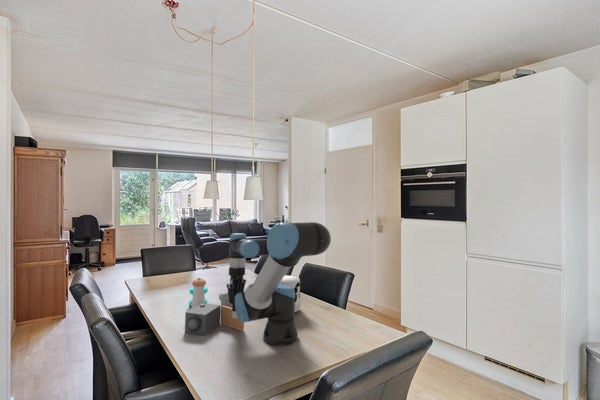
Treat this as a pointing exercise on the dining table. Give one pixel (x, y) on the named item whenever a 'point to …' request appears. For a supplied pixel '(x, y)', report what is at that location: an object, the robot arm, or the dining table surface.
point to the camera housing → (202, 318)
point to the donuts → (192, 294)
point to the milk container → (295, 284)
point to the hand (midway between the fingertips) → (235, 317)
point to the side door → (230, 318)
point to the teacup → (225, 300)
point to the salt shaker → (198, 292)
